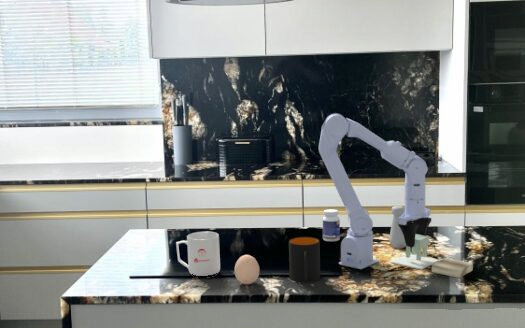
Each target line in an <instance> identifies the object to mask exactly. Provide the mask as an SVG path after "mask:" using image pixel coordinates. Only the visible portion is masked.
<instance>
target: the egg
mask: <svg viewBox="0 0 525 328" xmlns="http://www.w3.org/2000/svg"><path fill="white" fill-rule="evenodd" d="M234 265H235V266H234V275H235V276H234V277H235V278H236V279H237V281H239V282H240V283H242V284H243V285H251V284H253V283H254V282H256V281H257V279H259V276H260V266H259V263H258V261H257V260H256V258H255V257H253V256H251V255H250V254H244V255H241V256H240V257H239V258H238V259H237V261H236V262H235V264H234Z"/></svg>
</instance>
